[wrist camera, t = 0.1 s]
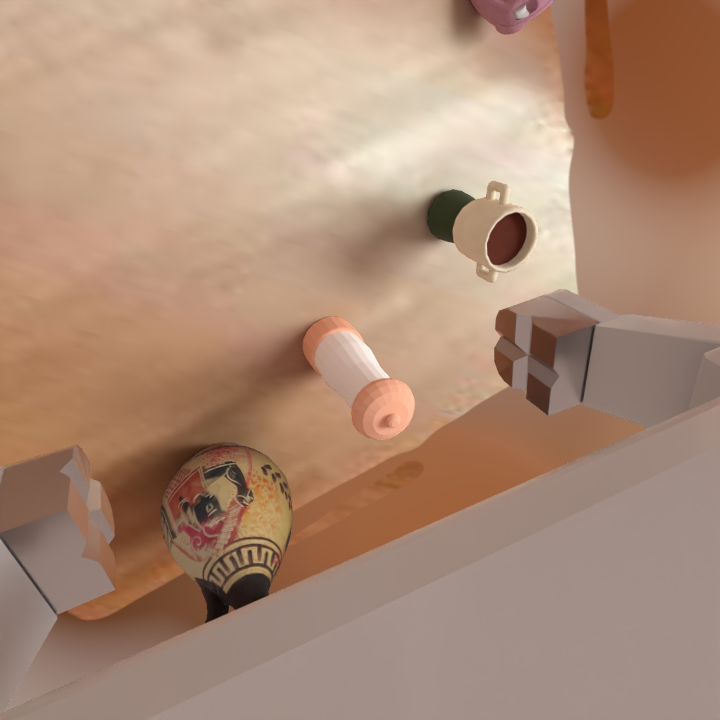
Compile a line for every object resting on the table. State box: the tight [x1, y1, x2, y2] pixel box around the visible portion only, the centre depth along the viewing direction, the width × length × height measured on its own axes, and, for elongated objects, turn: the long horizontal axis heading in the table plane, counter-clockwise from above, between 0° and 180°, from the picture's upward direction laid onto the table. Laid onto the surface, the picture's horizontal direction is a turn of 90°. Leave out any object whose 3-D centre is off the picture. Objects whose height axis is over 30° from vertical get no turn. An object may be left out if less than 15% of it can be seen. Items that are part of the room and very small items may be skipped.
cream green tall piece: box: [428, 181, 538, 283], centre depth 59 cm, size 11×7×13 cm, turn 179°
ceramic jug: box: [160, 443, 293, 623], centre depth 57 cm, size 17×15×30 cm
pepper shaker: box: [302, 317, 415, 440], centre depth 59 cm, size 7×7×19 cm
